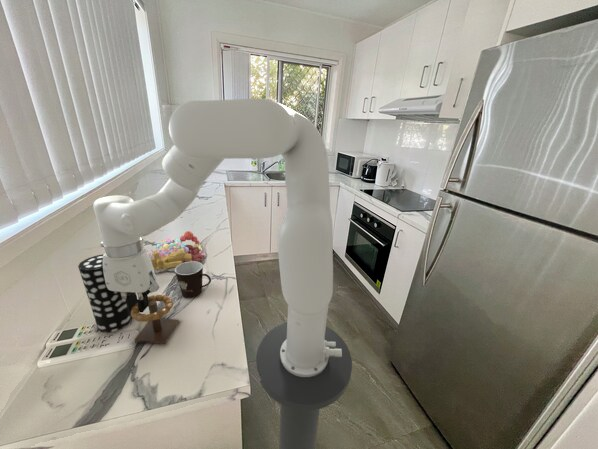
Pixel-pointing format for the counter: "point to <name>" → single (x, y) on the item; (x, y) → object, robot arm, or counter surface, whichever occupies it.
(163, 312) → the ring
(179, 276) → the coffee mug
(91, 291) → the white-spotted black cylinder
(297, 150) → the robot arm
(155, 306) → the stand
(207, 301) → the counter surface
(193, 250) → the candy platter
